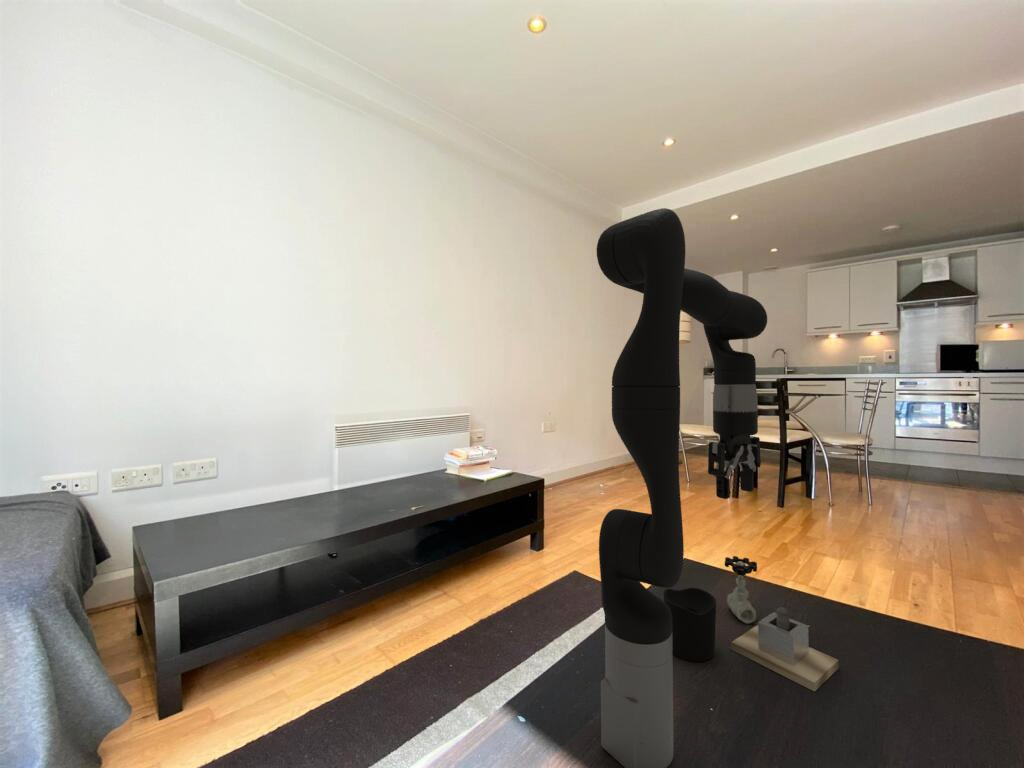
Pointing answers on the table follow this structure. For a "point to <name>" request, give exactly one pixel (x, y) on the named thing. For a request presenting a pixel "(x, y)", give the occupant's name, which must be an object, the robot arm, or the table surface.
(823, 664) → the shaft stand
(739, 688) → the table surface
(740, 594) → the valve
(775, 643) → the block
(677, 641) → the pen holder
